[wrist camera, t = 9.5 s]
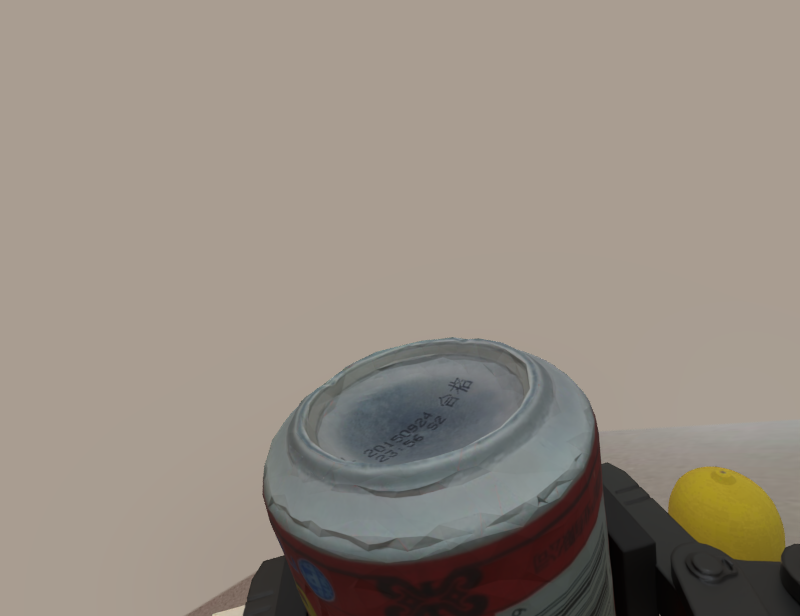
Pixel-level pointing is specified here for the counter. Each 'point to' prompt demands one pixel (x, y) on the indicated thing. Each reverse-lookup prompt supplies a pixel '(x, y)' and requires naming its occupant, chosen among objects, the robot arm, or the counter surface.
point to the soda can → (443, 488)
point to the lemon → (728, 514)
